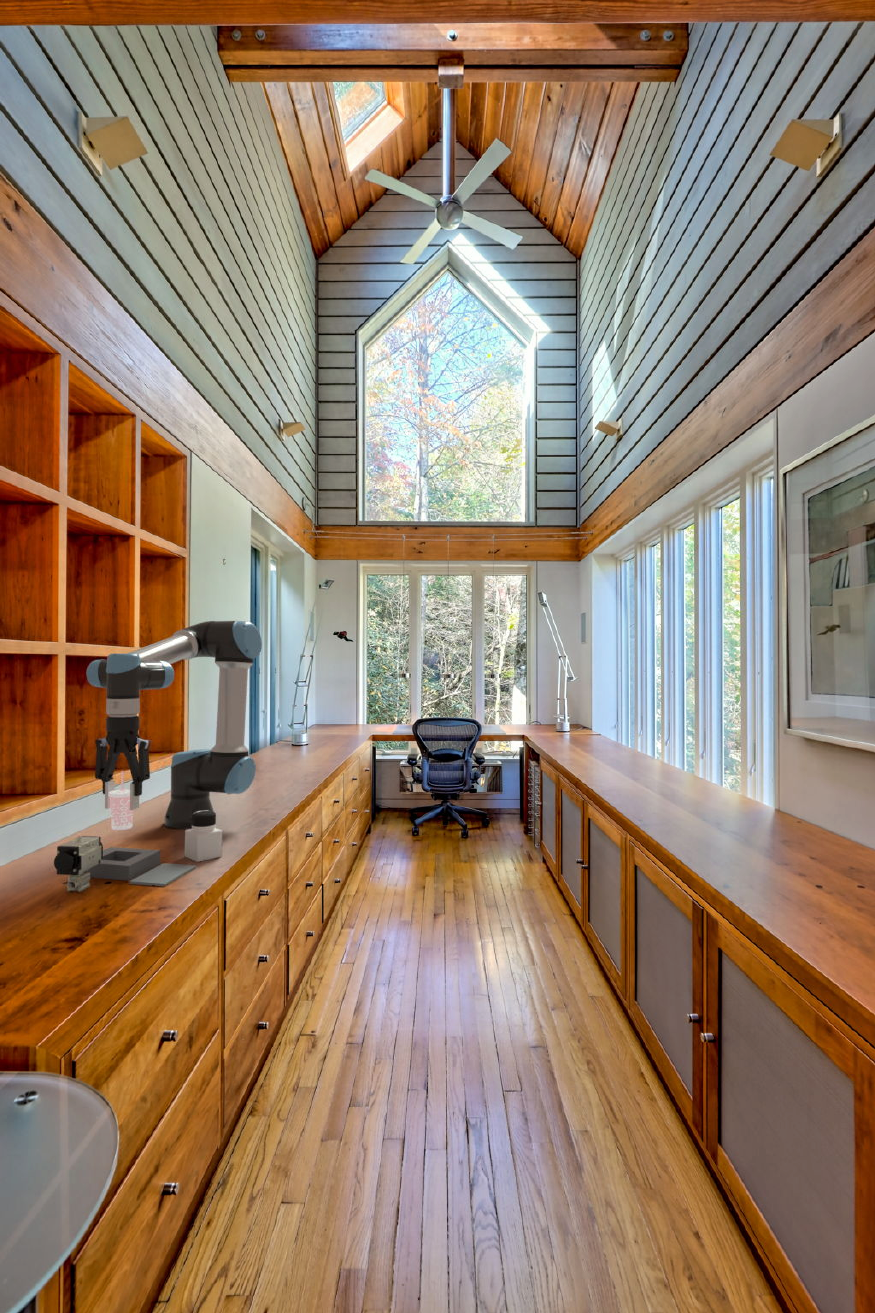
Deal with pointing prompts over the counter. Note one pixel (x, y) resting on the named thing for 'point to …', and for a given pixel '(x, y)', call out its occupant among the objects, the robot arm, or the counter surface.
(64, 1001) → the counter surface
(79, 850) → the pneumatic valve
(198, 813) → the medicine bottle
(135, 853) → the socket block
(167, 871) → the rubber mat
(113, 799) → the beverage cup
